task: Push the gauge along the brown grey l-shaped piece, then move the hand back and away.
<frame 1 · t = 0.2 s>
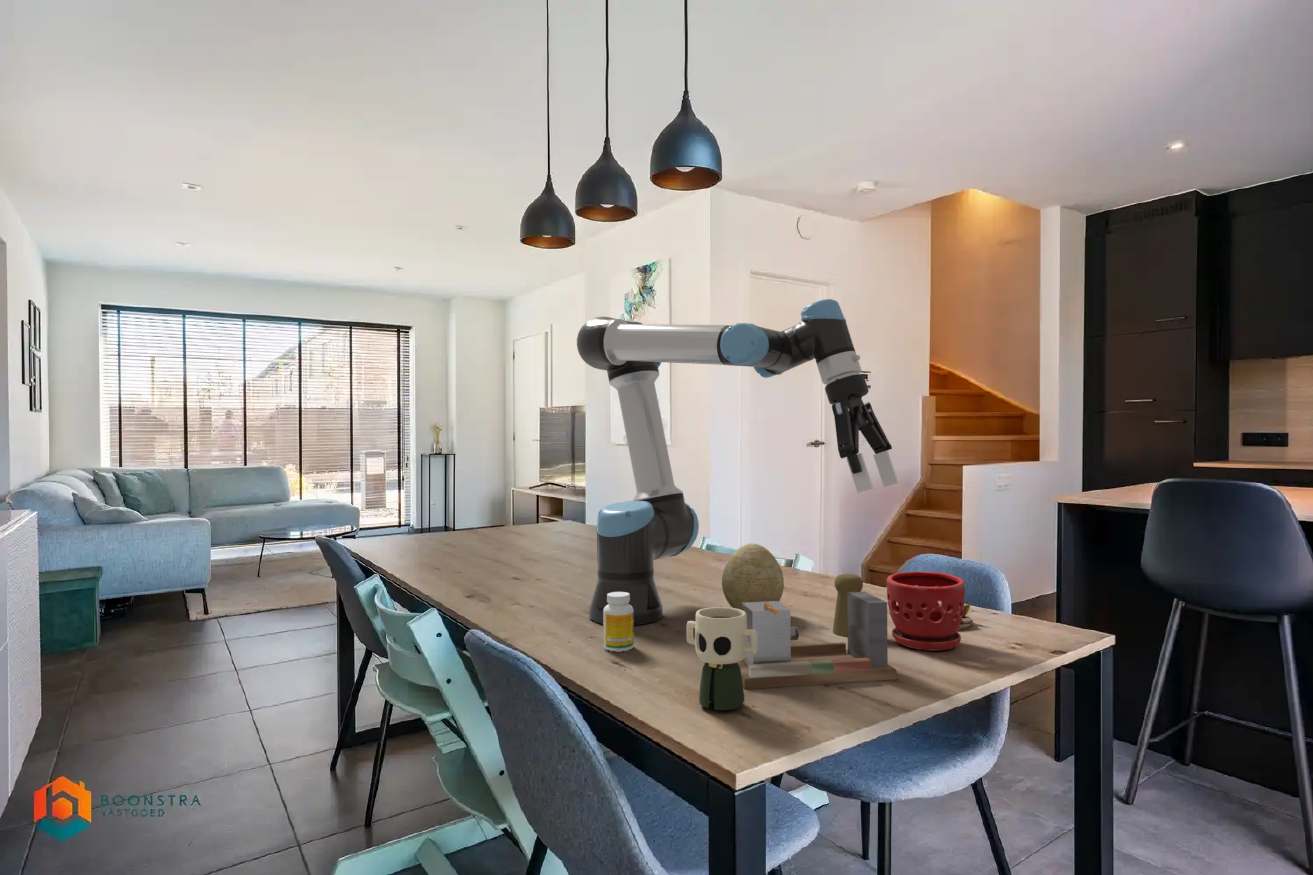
hand: (878, 488, 136), 28 cm above the table, tool tilted 20°, fingers open, 13 cm apart
fossilized egg: (752, 616, 154), on the table
toy sandwich meal: (935, 624, 147), on the table
supplement bottle: (618, 649, 131), on the table
plant pot: (925, 645, 132), on the table
gauge: (774, 634, 115), point 7 cm above the table, slide at 0.0 cm
olive knobbed pawn: (848, 633, 140), on the table
brown grey l-shaped piece: (808, 672, 117), on the table
character mug: (721, 707, 103), on the table
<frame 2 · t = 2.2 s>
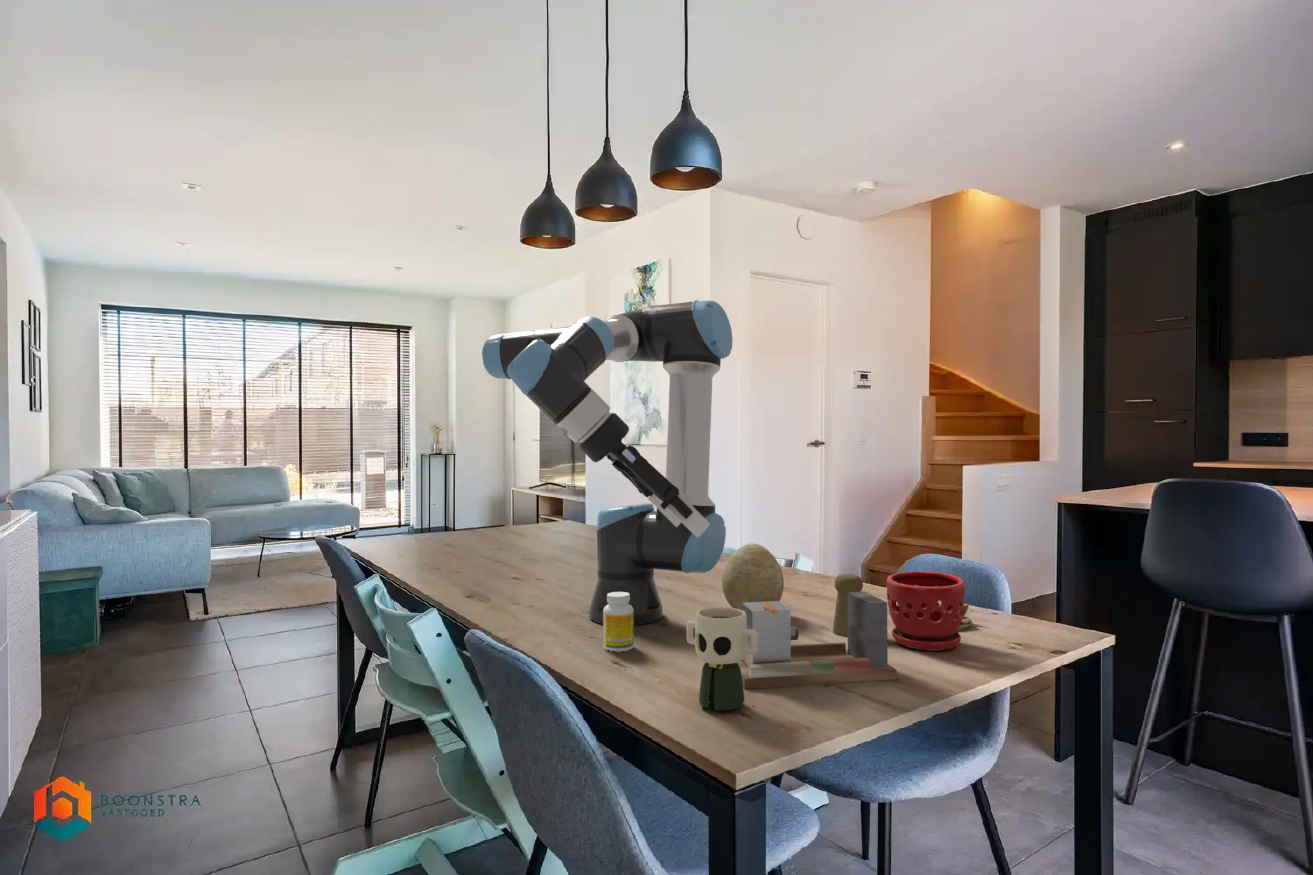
hand: (692, 525, 114), 24 cm above the table, tool tilted 45°, fingers open, 13 cm apart
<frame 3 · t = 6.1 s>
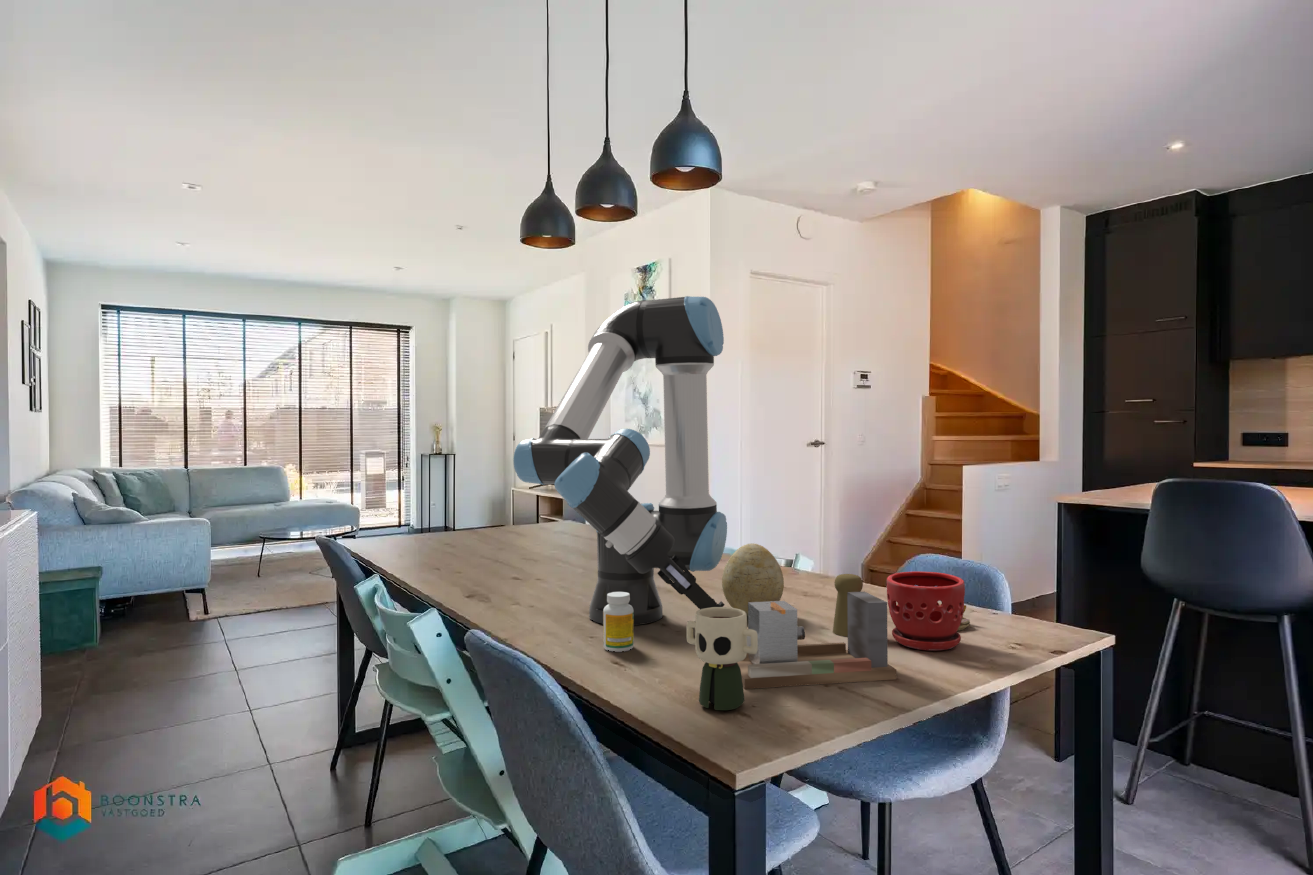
hand: (747, 644, 115), 5 cm above the table, tool tilted 45°, fingers closed
gauge: (780, 634, 115), point 7 cm above the table, slide at 1.1 cm, touching gripper
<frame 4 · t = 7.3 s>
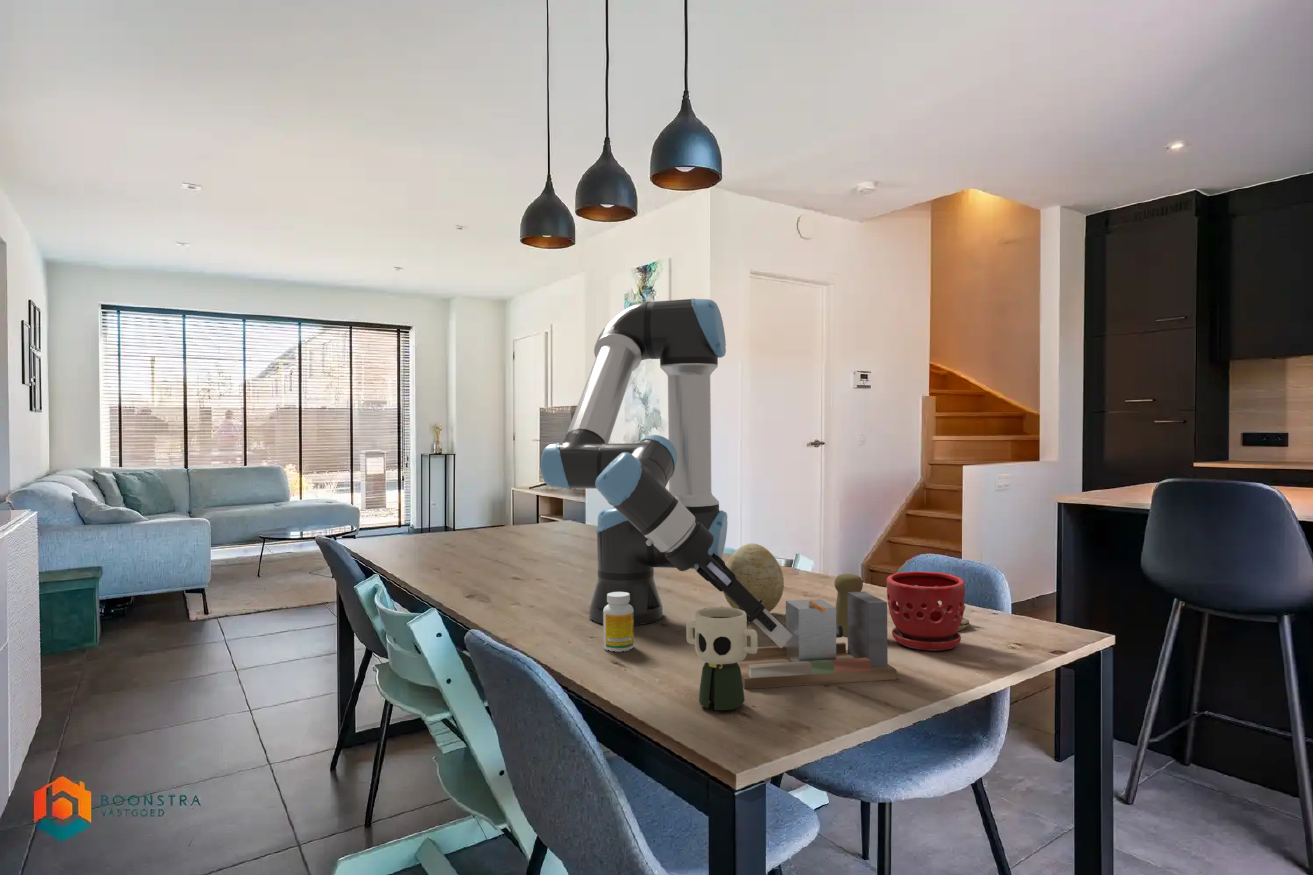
hand: (785, 640, 116), 5 cm above the table, tool tilted 45°, fingers closed
gauge: (819, 632, 116), point 7 cm above the table, slide at 7.4 cm, touching gripper
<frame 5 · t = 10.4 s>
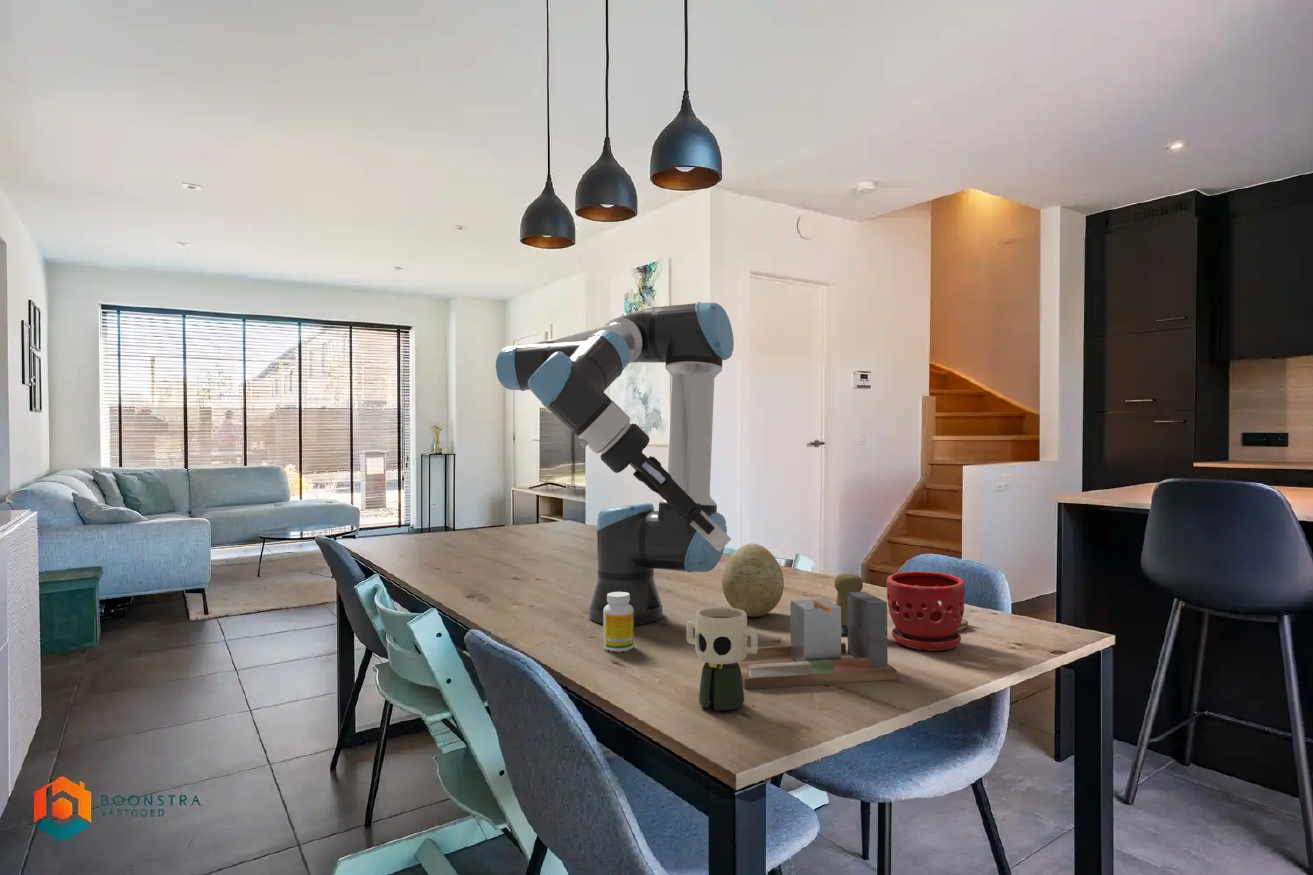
hand: (724, 544, 115), 21 cm above the table, tool tilted 45°, fingers closed
gauge: (824, 632, 116), point 7 cm above the table, slide at 8.2 cm
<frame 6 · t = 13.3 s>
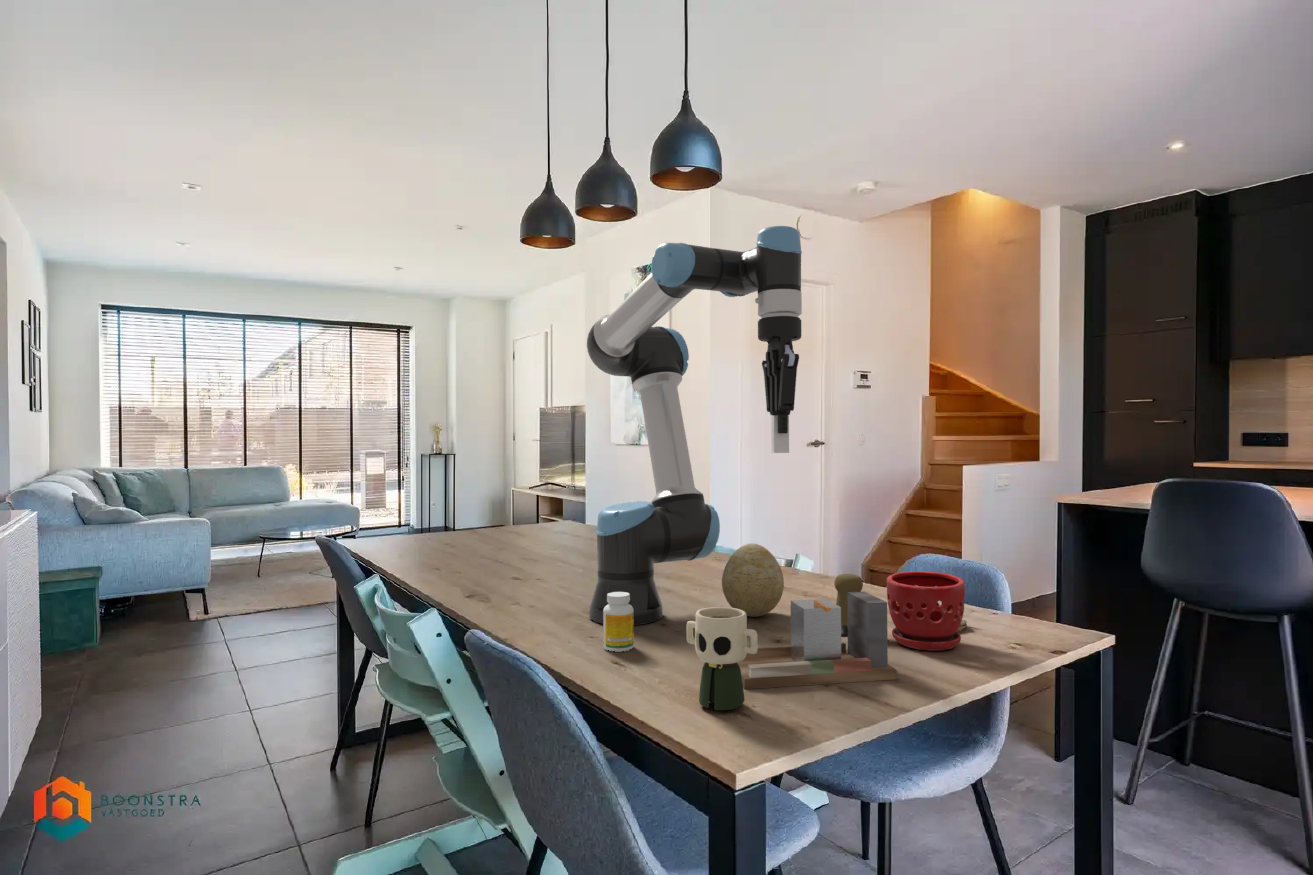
hand: (780, 452, 130), 34 cm above the table, tool pointing down, fingers closed
at the end: gauge slide at 8.2 cm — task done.
